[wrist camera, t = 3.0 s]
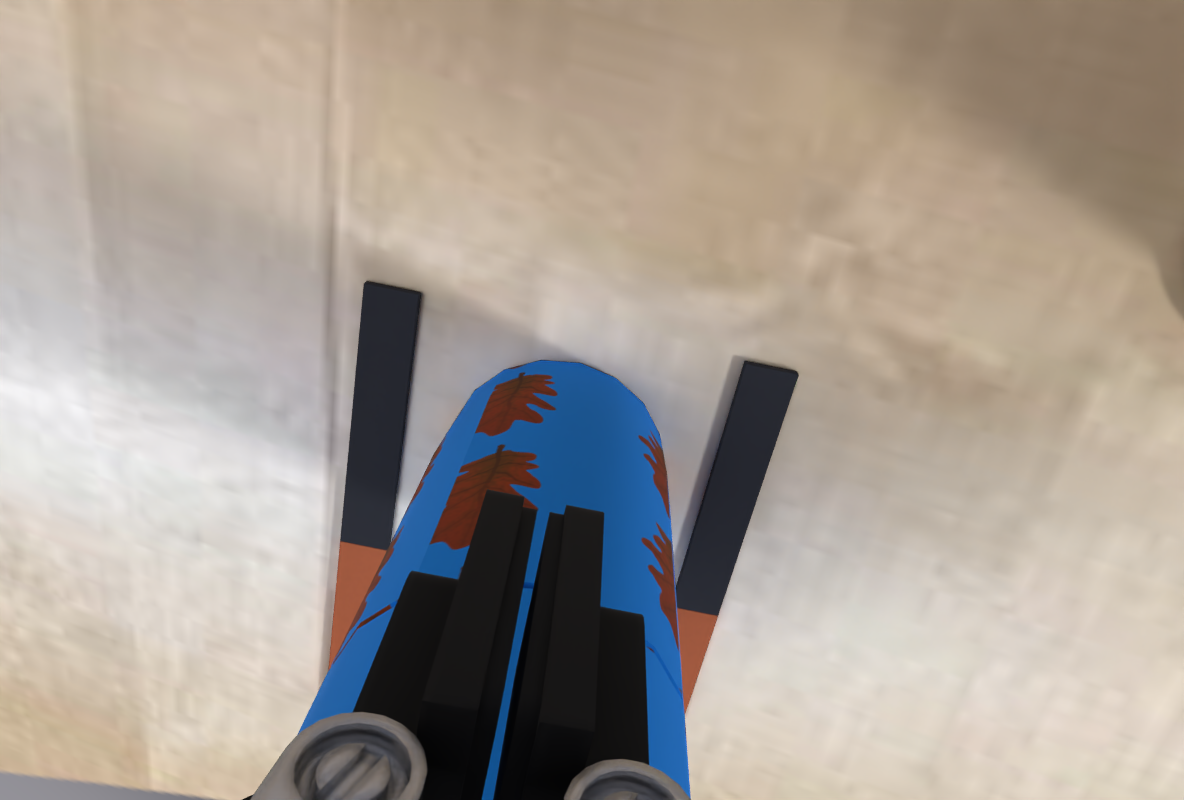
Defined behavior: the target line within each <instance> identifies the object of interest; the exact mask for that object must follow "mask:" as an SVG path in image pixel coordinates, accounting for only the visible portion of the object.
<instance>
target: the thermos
mask: <svg viewBox="0 0 1184 800" xmlns="http://www.w3.org/2000/svg"><path fill="white" fill-rule="evenodd" d="M487 489H489V490H494V491H499V492H504V493H509V494H514V495H519V496H524V497H525V498H524V503H523V507H527V508H532V509H537V516H536V521H535V527H534V532H533V537H532V543H531V548H530V553H529V559H528V564H527V570H526V575H525V580H524V586H523V591H522V596H521V602H520V607H519V612H518V618H517V623H516V629H515V634H514V639H513V645H512V650H511V655H510V661H509V666H508V671H507V677H506V682H505V688H504V693H503V698H502V703H501V708H500V714H499V719H498V724H497V729H496V733H495V738H494V743H493V748H492V753H491V757H490V762H489V767H488V772H487V776H486V781H485V786H484V791H483V795H482V800H493V797H494V791H495V785H496V780H497V774H498V768H499V762H500V757H501V751H502V745H503V739H504V734H505V728H506V722H507V716H508V711H509V705H510V699H511V693H512V688H513V682H514V677H515V672H516V666H517V662H518V657H519V652H520V647H521V643H522V638H523V633H524V629H525V624H526V619H527V615H528V610H529V605H530V601H531V596H532V591H533V587H534V582H535V577H536V573H537V568H538V563H539V559H540V554H541V549H542V545H543V540H544V535H545V531H546V526H547V521H548V517H549V513H550V512H553V513H558V514H563V515H564V512H565V508H566V505H570V506H575V507H581V508H586V509H591V510H596V511H601V512H604V535H603V558H602V580H601V603H600V606H601V607H606V608H611V609H617V610H622V611H627V612H632V613H638V614H642V615H643V617H644V624H645V652H646V682H647V713H648V744H649V766H651V767H653V768H656V769H658V770H660V771H662V772H664V773H665V774H666V775H667V776H669V777H670V778H671V779H673V780H674V781H675V782H676V783H678V784H679V785H680V786H681V788H682V789H683V790H684V791H685V793H686V794H687V795H688V796H689V798H690V784H689V770H688V756H687V744H686V743H687V742H686V728H685V714H684V700H683V686H682V671H681V657H680V643H679V629H678V615H677V601H676V587H675V573H674V559H673V545H672V531H671V516H670V504H669V492H668V481H667V471H666V466H665V460H664V455H663V450H662V444H661V439H660V434H659V432H658V430H657V428H656V426H655V424H654V422H653V420H652V419H651V417H650V415H649V413H648V411H647V409H646V407H645V405H644V403H643V402H642V401H641V400H640V399H638V398H637V397H636V396H635V395H634V394H633V393H632V392H631V391H630V390H628V389H627V388H626V387H625V386H624V385H623V384H622V383H621V382H620V381H619V380H617V379H616V378H614V377H612V376H610V375H607V374H605V373H603V372H600V371H598V370H596V369H593V368H591V367H588V366H586V365H584V364H581V363H573V362H560V361H546V360H540V361H536V362H532V363H528V364H524V365H521V366H517V367H513V368H509V369H505V370H503V371H502V372H500V373H499V374H498V375H496V376H495V377H493V378H492V379H490V380H489V381H488V382H486V383H485V384H483V385H482V386H480V387H479V388H477V389H476V390H475V391H474V392H473V394H472V395H471V397H470V398H469V400H468V401H467V403H466V404H465V406H464V407H463V409H462V410H461V412H460V414H459V415H458V417H457V418H456V420H455V421H454V423H453V424H452V426H451V428H450V429H449V431H448V432H447V434H446V436H445V437H444V439H443V440H442V442H441V444H440V445H439V447H438V448H437V450H436V452H435V453H434V455H433V457H432V459H431V461H430V463H429V465H428V467H427V469H426V471H425V473H424V475H423V477H422V480H421V482H420V484H419V486H418V488H417V490H416V492H415V494H414V496H413V498H412V500H411V502H410V504H409V506H408V508H407V510H406V512H405V515H404V517H403V519H402V521H401V523H400V525H399V527H398V529H397V531H396V533H395V535H394V537H393V539H392V541H391V543H390V545H389V547H388V549H387V552H386V554H385V556H384V558H383V560H382V562H381V564H380V566H379V568H378V570H377V572H376V574H375V576H374V578H373V580H372V582H371V584H370V587H369V589H368V591H367V593H366V595H365V597H364V599H363V601H362V603H361V605H360V607H359V609H358V611H357V613H356V615H355V617H354V619H353V622H352V624H351V626H350V628H349V630H348V632H347V634H346V636H345V638H344V640H343V642H342V644H341V646H340V648H339V650H338V652H337V654H336V656H335V659H334V661H333V663H332V665H331V668H330V670H329V671H328V673H327V675H326V677H325V679H324V681H323V683H322V685H321V687H320V689H319V691H318V694H317V696H316V698H315V700H314V702H313V704H312V706H311V708H310V710H309V712H308V714H307V716H306V718H305V720H304V722H303V724H302V726H301V729H300V731H299V733H300V732H301V731H302V730H304V729H306V728H307V727H309V726H311V725H312V724H314V723H316V722H317V721H319V720H321V719H325V718H328V717H331V716H334V715H338V714H341V713H352V712H353V710H354V707H355V705H356V702H357V700H358V697H359V695H360V692H361V690H362V687H363V685H364V682H365V680H366V678H367V675H368V673H369V670H370V668H371V665H372V663H373V660H374V658H375V655H376V653H377V650H378V648H379V645H380V643H381V641H382V638H383V636H384V633H385V631H386V628H387V626H388V623H389V621H390V618H391V616H392V613H393V611H394V608H395V606H396V603H397V601H398V599H399V596H400V594H401V591H402V589H403V586H404V584H405V581H406V579H407V577H408V575H409V573H410V572H411V571H417V572H422V573H427V574H433V575H438V576H443V577H448V578H454V579H459V578H460V575H461V572H462V568H463V565H464V562H465V559H466V555H467V552H468V549H469V546H470V542H471V539H472V536H473V533H474V529H475V526H476V523H477V520H478V516H479V513H480V510H481V507H482V503H483V500H484V497H485V494H486V491H487ZM299 733H298V734H299ZM690 799H691V798H690Z"/></svg>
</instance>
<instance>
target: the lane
mask: <svg viewBox="0 0 1184 800" xmlns="http://www.w3.org/2000/svg"><path fill="white" fill-rule="evenodd" d="M420 297H421V293H420V292H416V291H412V290H407V289H402V288H397V287H393V286H388V285H383V284H378V283H373V282H369V281H366V282H365V283H364V289H363V300H362V311H361V322H360V333H359V344H358V354H357V365H356V376H355V387H354V398H353V409H352V420H351V431H350V441H349V452H348V463H347V474H346V485H345V496H344V507H343V518H342V529H341V539H340V550H339V561H338V572H337V583H336V594H335V605H334V616H333V627H332V637H331V648H330V659H329V670H330V668H331V665H332V663H333V661H334V659H335V656H336V654H337V652H338V650H339V648H340V646H341V644H342V642H343V640H344V638H345V636H346V634H347V632H348V630H349V628H350V626H351V624H352V622H353V619H354V617H355V615H356V613H357V611H358V609H359V607H360V605H361V603H362V601H363V599H364V597H365V595H366V593H367V591H368V589H369V587H370V584H371V582H372V580H373V578H374V576H375V574H376V572H377V570H378V568H379V566H380V564H381V562H382V560H383V558H384V556H385V554H386V552H387V549H388V547H389V545H390V542H391V534H392V526H393V518H394V509H395V501H396V493H397V485H398V477H399V469H400V460H401V452H402V444H403V436H404V428H405V419H406V411H407V403H408V395H409V387H410V379H411V370H412V362H413V354H414V346H415V338H416V329H417V321H418V313H419V305H420ZM797 378H798V373H797V372H796V371H792V370H787V369H782V368H777V367H773V366H768V365H763V364H758V363H754V362H749V361H744V364H743V368H742V371H741V374H740V378H739V381H738V384H737V387H736V391H735V394H734V397H733V401H732V404H731V407H730V411H729V414H728V417H727V420H726V424H725V427H724V430H723V434H722V437H721V440H720V444H719V447H718V450H717V453H716V457H715V460H714V463H713V467H712V470H711V473H710V477H709V480H708V483H707V486H706V490H705V493H704V496H703V500H702V503H701V506H700V510H699V513H698V516H697V519H696V523H695V526H694V529H693V533H692V536H691V539H690V543H689V546H688V549H687V552H686V556H685V559H684V562H683V566H682V569H681V572H680V576H679V579H678V582H677V585H676V601H677V615H678V629H679V643H680V657H681V671H682V686H683V700H684V714H685V712H686V709H687V706H688V703H689V700H690V697H691V694H692V691H693V689H694V686H695V683H696V680H697V677H698V674H699V671H700V668H701V665H702V662H703V659H704V656H705V653H706V650H707V647H708V644H709V641H710V638H711V635H712V632H713V629H714V626H715V623H716V620H717V617H718V614H719V611H720V608H721V605H722V602H723V599H724V596H725V593H726V590H727V587H728V584H729V581H730V578H731V575H732V572H733V569H734V566H735V563H736V560H737V557H738V554H739V551H740V548H741V545H742V542H743V539H744V536H745V533H746V530H747V527H748V524H749V521H750V518H751V515H752V512H753V509H754V506H755V503H756V500H757V497H758V495H759V492H760V489H761V486H762V483H763V480H764V477H765V474H766V471H767V468H768V465H769V462H770V459H771V456H772V453H773V450H774V447H775V444H776V441H777V438H778V435H779V432H780V429H781V426H782V423H783V420H784V417H785V414H786V411H787V408H788V405H789V402H790V399H791V396H792V393H793V390H794V387H795V384H796V381H797ZM329 670H328V671H329Z"/></svg>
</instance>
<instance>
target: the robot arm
mask: <svg viewBox="0 0 1184 800" xmlns="http://www.w3.org/2000/svg"><path fill="white" fill-rule="evenodd" d="M524 498H525V497H524V496H519V495H514V494H509V493H504V492H499V491H494V490H489V489H487V491H486V494H485V497H484V500H483V503H482V507H481V510H480V513H479V516H478V520H477V523H476V526H475V529H474V533H473V536H472V539H471V542H470V546H469V549H468V552H467V555H466V559H465V562H464V565H463V568H462V572H461V575H460V578H459V579H454V578H448V577H443V576H438V575H433V574H427V573H422V572H417V571H411V572H410V573H409V575H408V577H407V579H406V581H405V584H404V586H403V589H402V591H401V594H400V596H399V599H398V601H397V603H396V606H395V608H394V611H393V613H392V616H391V618H390V621H389V623H388V626H387V628H386V631H385V633H384V636H383V638H382V641H381V643H380V645H379V648H378V650H377V653H376V655H375V658H374V660H373V663H372V665H371V668H370V670H369V673H368V675H367V678H366V680H365V682H364V685H363V687H362V690H361V692H360V695H359V697H358V700H357V702H356V705H355V707H354V710H353V712H352V713H341V714H338V715H334V716H331V717H328V718H325V719H321V720H319V721H317V722H316V723H314V724H312V725H311V726H309V727H307V728H306V729H304V730H302V731H301V732H300V733H299V734H298V735H297V736H296V737H295V738H294V739H293V741H292V742H291V743H290V744H289V745H288V746H287V747H286V748H285V750H284V751H283V753H282V754H281V756H280V757H279V759H278V760H277V761H276V763H275V764H274V766H273V767H272V769H271V770H270V772H269V773H268V774H267V776H266V777H265V779H264V780H263V782H262V783H261V785H260V786H259V788H258V789H257V790H256V792H255V793H254V794H253V795H251V796H249V797H247V798H245V799H243V800H482V795H483V791H484V786H485V781H486V776H487V772H488V767H489V762H490V757H491V753H492V748H493V743H494V738H495V733H496V729H497V724H498V719H499V714H500V708H501V703H502V698H503V693H504V688H505V682H506V677H507V671H508V666H509V661H510V655H511V650H512V645H513V639H514V634H515V629H516V623H517V618H518V612H519V607H520V602H521V596H522V591H523V586H524V580H525V575H526V570H527V564H528V559H529V553H530V548H531V543H532V537H533V532H534V527H535V521H536V516H537V509H532V508H527V507H523V503H524ZM603 535H604V512H601V511H596V510H591V509H586V508H581V507H575V506H570V505H566V508H565V512H564V515H563V514H558V513H553V512H550V513H549V517H548V521H547V526H546V531H545V535H544V540H543V545H542V549H541V554H540V559H539V563H538V568H537V573H536V577H535V582H534V587H533V591H532V596H531V601H530V605H529V610H528V615H527V619H526V624H525V629H524V633H523V638H522V643H521V647H520V652H519V657H518V662H517V666H516V672H515V677H514V682H513V688H512V693H511V699H510V705H509V711H508V716H507V722H506V728H505V734H504V739H503V745H502V751H501V757H500V762H499V768H498V774H497V780H496V785H495V791H494V797H493V800H691V799H690V798H689V796H688V795H687V794H686V793H685V791H684V790H683V789H682V788H681V786H680V785H679V784H678V783H676V782H675V781H674V780H673V779H671V778H670V777H669V776H667V775H666V774H665V773H664V772H662V771H660V770H658V769H656V768H653V767H651V766H649V744H648V713H647V682H646V652H645V624H644V617H643V615H642V614H638V613H632V612H627V611H622V610H617V609H611V608H606V607H601V606H600V603H601V580H602V558H603Z"/></svg>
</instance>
